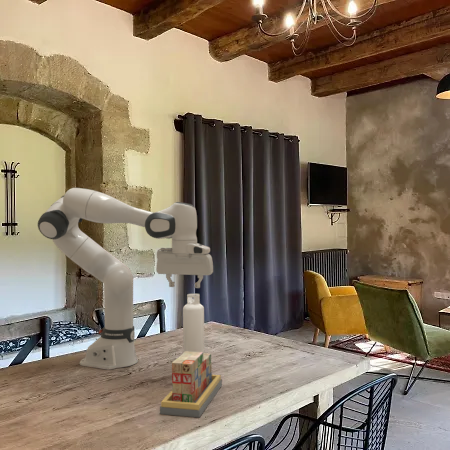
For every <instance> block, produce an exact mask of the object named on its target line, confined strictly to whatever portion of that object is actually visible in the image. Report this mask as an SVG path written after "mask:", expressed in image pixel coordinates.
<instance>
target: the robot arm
mask: <svg viewBox="0 0 450 450" xmlns="http://www.w3.org/2000/svg"><path fill="white" fill-rule="evenodd" d="M83 220H86V221H89V222H93V223H97V224H98V223H99V224H108V225H110V224H131V225H135V226H138V227H143V228H144V229H145V232H146V233H147V234H148V235H149V236H150V237H152V238H154V239H157V240H158V239H159V240H160V239H168V240H170V239H171V247H166V248H165V247H160V249H158V250H157V251H156V259H157V260H156V269H155V271H156V273H157V274H158V275H165V278H166V280H167V282H168V287H169V288H174V287H175V285H176V284H175V281H173V280H172V275H180V276H182V275H185V276H186V275H190V276H197V279H198V281H197V282H195V283H194V288H195V289H200V288H201V282H202V280H203V279H204V276H210V275H212V274H213V273H214V263H213V257H212V255H211V254H209V253H210V252H211V248H210V246H207V245H203V244H201V243H198V237H197V229H198V215H197V210H196V207H195V206H194V205H193V204H191V203H186V202H181V201H176V202H173V204H171V205H170V206H168V207H166V208H163V209H161V210H159V211H149V210H145V209H141V208H140V207H139V208H138V207H134V206H132V205H129V204H128V203H126V202H123V201H121V200H120V199H117V198H115V197H114V196H112V195H109V194H106V193H103V192H100V191H98V190H93V189H88V188H81V187H72V188H70V189H68V190H67V191H66V192H65V194H64V195H62V196H60V198H59V199H57V200H56V201H54V202H53V203H52V204H51V205H50V207H48V208H47V210H46V211H44V213H42V214H41V216H40V217H39V219H38V222H37V229H38V230H39V232H40V233H41V234H42V236H43V237H45V238H47V239H49V240H52V242H53V244H54V245H55V246H56V247H57V249H58V250H60V251H61V253H63V254H64V255H65V256H66V257H67V258H69V260H71V261H72V262H73V263H75V264H76V265H77V266H78V267H80V268H81V269H83V270H84V271H85V272H86V273H88V274H90V275H91V276H93V277H94V278H96V279H97V280H99V281H100V282H101V283H103V290H104V291H103V292H104V293H103V297H104V300H103V301H104V327H103V328H101V329H99V331H98V334H100V337H98V338H97V339H96V340H95V341H94V342H93V343H91V344H90V345H89V346H88V347H87V349H86V354H85V357H83V358H82V359H81V360H80V361H79V366H83V367H91V368H97V369H103V370H113V369H119V368H126V367H130V366H133V365H135V364H137V363H138V360H139V359H138V358H137V357H138V356H137V353H136V348H135V336H136V335H135V326H134V276H133V273H132V271H131V269H130V267H129V266H127V265H126V264H125V263H123V262H122V261H121V260H119V259H118V258H117V257H115V256H114V255H113V254H111V252H109V251H108V250H106V249H105V248H104V247H102V246H101V245H100V244H99V243H97V242H96V241H95V240H93V238H91V237H89V236H88V235H87V234H86V233H85V232H83V231H82V230H81V229H80V228H79V223H82V222H83Z"/></svg>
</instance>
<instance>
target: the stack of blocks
mask: <svg viewBox="0 0 450 450" xmlns="http://www.w3.org/2000/svg"><path fill="white" fill-rule="evenodd" d="M212 369H213V368H212V353H207V352H204V353H203V352H190V351H185V352H184V353H182V354H180V356H178V357H177V358H176V359H174V360H173V361H172V362H171V382H172V385H171V386H172V389H171V391H172V401H178V402H190V403H194V401H195V400H196V399H197V398H198V397H199V396H200V394H201V393H202V391H203V390H204V389H205V388H206V387H207V386H208V384H209V383H210V382H211V381H212V375H213V374H212V372H213V371H212Z"/></svg>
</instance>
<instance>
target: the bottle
mask: <svg viewBox="0 0 450 450" xmlns="http://www.w3.org/2000/svg"><path fill="white" fill-rule="evenodd" d="M186 296H187V297H186V299H187V301H186V302H187V303H186V304H185V305H184V306H183V308H182V341H183V343H182V344H183V345H182V346H183V350H182V352H183V353H184V352H185V351H190V352H203V353H205V307H204V305H202V304H201V301H200V300H201V299H200V297H201V296H200V293H188V294H187V295H186ZM183 353H182V354H183Z"/></svg>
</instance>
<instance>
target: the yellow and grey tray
mask: <svg viewBox="0 0 450 450" xmlns="http://www.w3.org/2000/svg"><path fill="white" fill-rule="evenodd" d="M221 377H222V375H221V374H212V381H211V382H210V383H209V384H208V386H207V387H206V388H205V389H204V390H203V391H202V393H201V394H200V396H199V397H198V398H197V399H196V400H195V401H194V403H190V402H178V401H172V390H171V391H170V392H169V393H168V394H167V395H166V396H165V397H164V398H163V399H162V400H161V401H160V406H159V414H160V415H166V416H167V415H168V416H176V417H177V416H179V417H188V418H189V417H190V418H201V416H202V415H203V413H204V412H205V411H206V409H207V408H208V406H209V405H210V403H211V402H212V400H213V399H214V397H215V396H216V395H217V393H218V391H219V390H220V388H221V387H222V385H223V379H222V378H221Z"/></svg>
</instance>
